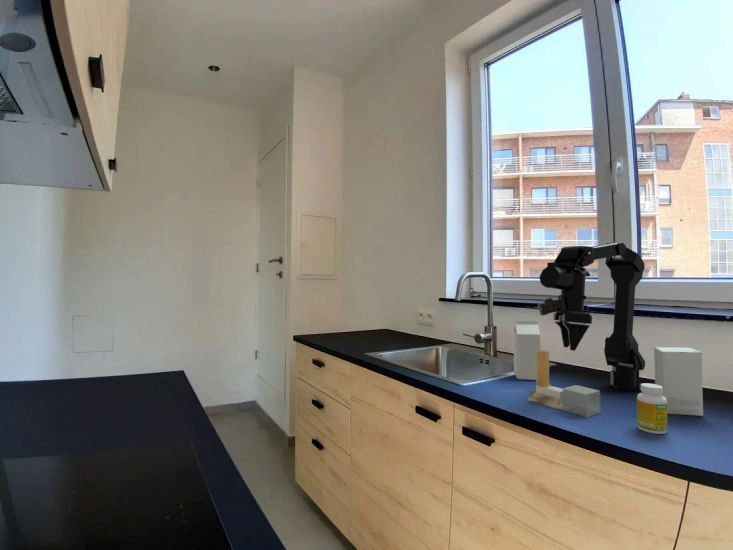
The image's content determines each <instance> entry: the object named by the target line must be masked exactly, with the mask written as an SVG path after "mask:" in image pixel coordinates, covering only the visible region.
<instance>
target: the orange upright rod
mask: <svg viewBox="0 0 733 550" xmlns="http://www.w3.org/2000/svg"><path fill="white" fill-rule="evenodd" d="M535 381H536V383H535V384H536V385H535V390H536V393H540V394H543V395H547V396H551V397H554V398H558V399H559V404H563V388H561V387H557V386H554V385H550V351H548V350H541V349H540V350H537V351H536V380H535Z"/></svg>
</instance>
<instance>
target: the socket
mask: <svg viewBox="0 0 733 550" xmlns="http://www.w3.org/2000/svg"><path fill="white" fill-rule="evenodd" d="M562 389H563V410H564V411H563V410H562V411H563V412H566V411H567V413H570V412H571V413H570V414H573V413H574V414H573V415H576V414H578V415H577V416H580V415H581V416H580V417H583V416H584V417H583V418H586V417H587V418H590V417H592V416H595V415H598V414H601V390H598V389H594V388H591V387H585V386H582V385H577V384H576V385H570V386H567V387H563V388H562ZM589 416H590V417H589Z"/></svg>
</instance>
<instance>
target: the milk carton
mask: <svg viewBox="0 0 733 550" xmlns="http://www.w3.org/2000/svg"><path fill="white" fill-rule="evenodd" d="M514 321H515V322H514V328H513V375H514V376H515V378H516V379H517V380H532V381H533V380H534V381H536V351H537V350H541V331H540V328H539V321H538V320H514Z"/></svg>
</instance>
